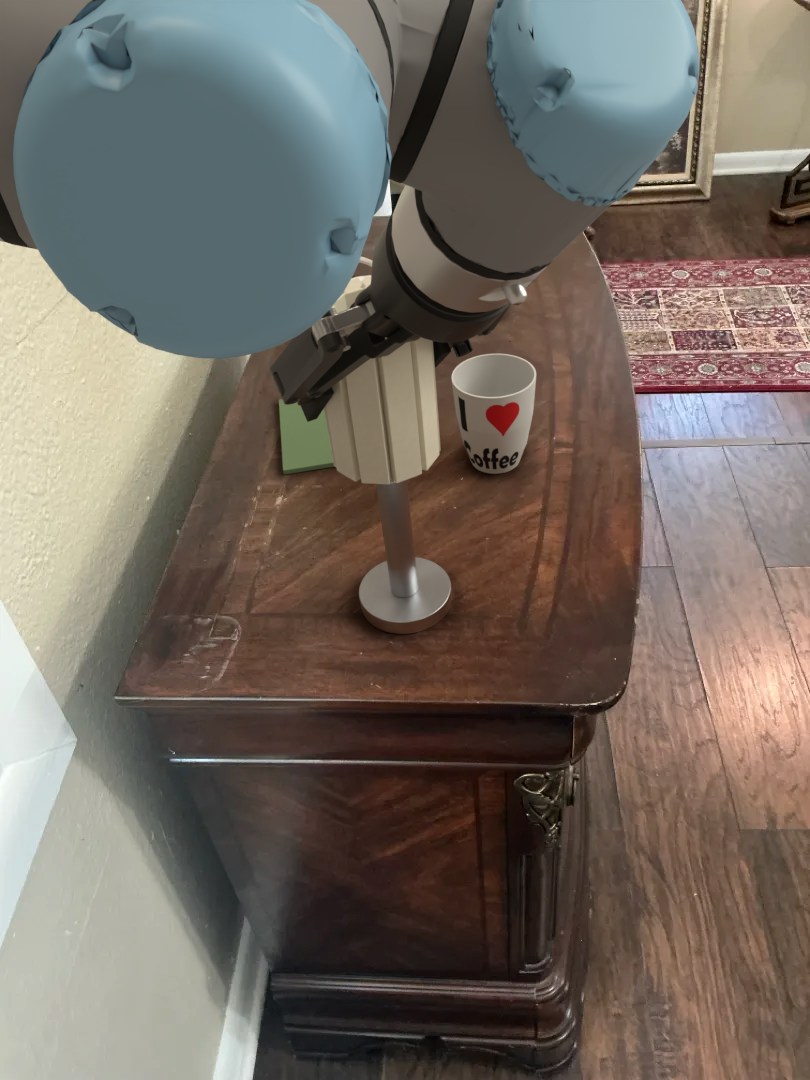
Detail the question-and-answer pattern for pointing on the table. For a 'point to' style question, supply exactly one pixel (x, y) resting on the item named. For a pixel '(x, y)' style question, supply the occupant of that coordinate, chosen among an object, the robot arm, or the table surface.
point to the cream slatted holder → (384, 411)
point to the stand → (402, 573)
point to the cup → (494, 409)
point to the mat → (303, 440)
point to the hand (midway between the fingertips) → (359, 383)
